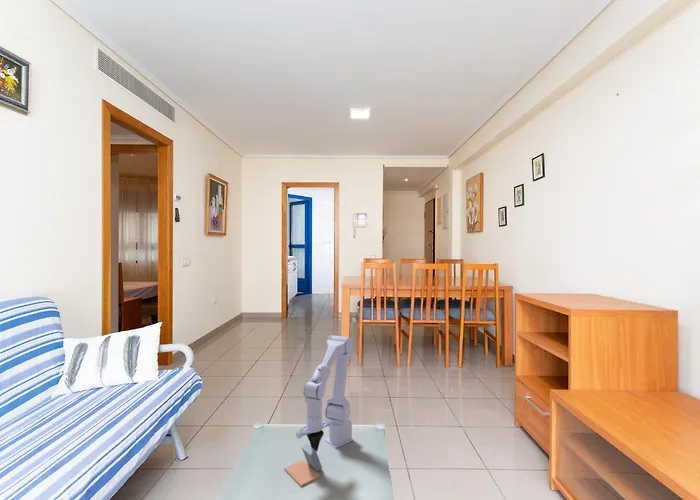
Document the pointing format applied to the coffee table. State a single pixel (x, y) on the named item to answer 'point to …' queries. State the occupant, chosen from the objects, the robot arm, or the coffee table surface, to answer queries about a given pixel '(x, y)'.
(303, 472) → the mat
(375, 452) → the coffee table surface
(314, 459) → the slab
